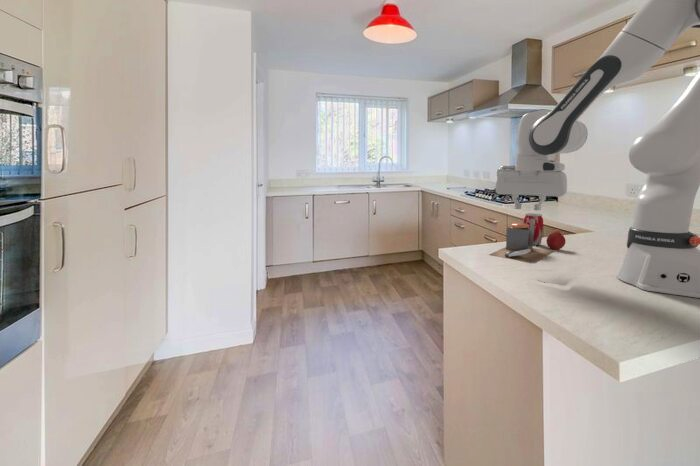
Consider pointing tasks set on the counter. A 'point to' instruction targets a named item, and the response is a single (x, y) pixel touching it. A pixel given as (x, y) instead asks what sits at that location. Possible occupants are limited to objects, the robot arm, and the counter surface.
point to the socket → (519, 239)
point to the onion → (556, 240)
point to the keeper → (517, 253)
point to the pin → (520, 226)
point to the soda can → (535, 226)
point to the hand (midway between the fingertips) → (527, 209)
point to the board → (524, 255)
